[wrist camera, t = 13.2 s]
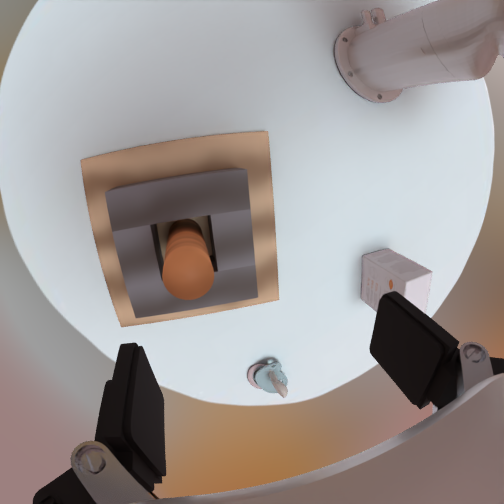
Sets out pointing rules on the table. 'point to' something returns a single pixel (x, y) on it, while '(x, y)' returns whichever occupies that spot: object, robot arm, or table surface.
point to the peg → (187, 261)
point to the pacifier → (269, 378)
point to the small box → (394, 278)
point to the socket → (182, 207)
